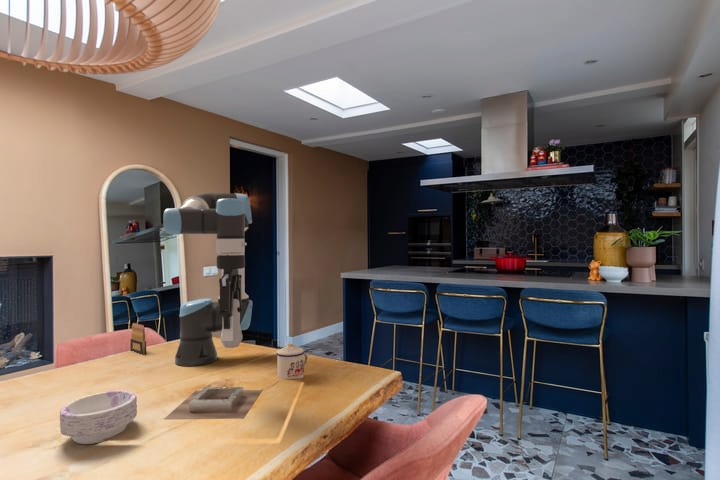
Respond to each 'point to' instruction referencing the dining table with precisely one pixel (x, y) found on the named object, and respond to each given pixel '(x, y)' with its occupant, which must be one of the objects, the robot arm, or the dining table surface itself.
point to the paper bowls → (98, 416)
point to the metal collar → (203, 404)
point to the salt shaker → (234, 328)
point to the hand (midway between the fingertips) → (231, 337)
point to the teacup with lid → (291, 362)
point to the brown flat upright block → (138, 339)
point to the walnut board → (236, 413)
